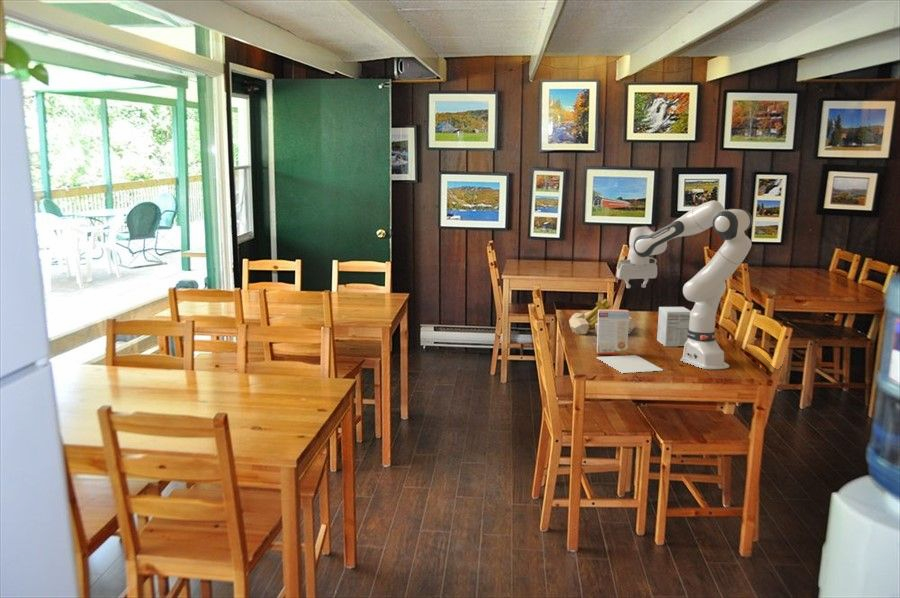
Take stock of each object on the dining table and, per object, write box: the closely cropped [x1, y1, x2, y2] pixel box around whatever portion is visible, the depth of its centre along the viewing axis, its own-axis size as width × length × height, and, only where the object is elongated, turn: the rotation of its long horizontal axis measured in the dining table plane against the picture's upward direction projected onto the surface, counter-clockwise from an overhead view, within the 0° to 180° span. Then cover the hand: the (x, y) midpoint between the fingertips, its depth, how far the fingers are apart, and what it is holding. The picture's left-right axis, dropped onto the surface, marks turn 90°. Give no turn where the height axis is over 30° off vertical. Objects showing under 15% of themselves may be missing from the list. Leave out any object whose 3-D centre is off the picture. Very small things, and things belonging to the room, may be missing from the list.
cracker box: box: [596, 308, 630, 356], centre depth 359 cm, size 14×6×21 cm, turn 84°
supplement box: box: [656, 306, 691, 347], centre depth 381 cm, size 13×13×18 cm
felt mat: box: [595, 354, 664, 375], centre depth 344 cm, size 26×20×1 cm
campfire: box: [568, 298, 635, 335], centre depth 407 cm, size 35×34×17 cm
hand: (635, 287), depth 370 cm, fingers open, 7 cm apart
